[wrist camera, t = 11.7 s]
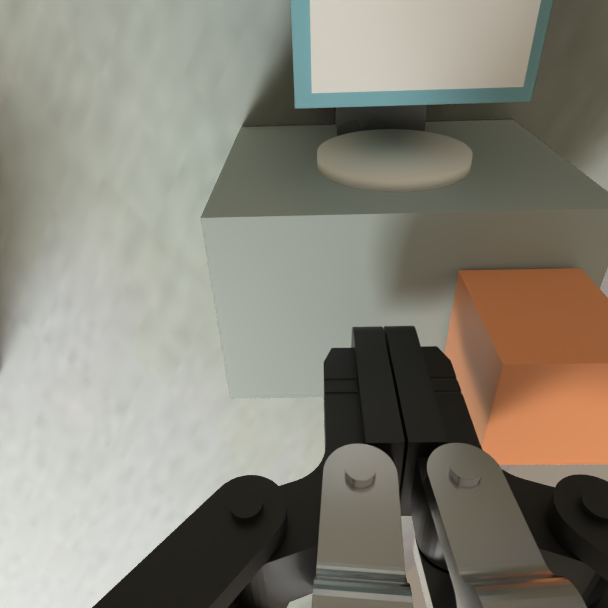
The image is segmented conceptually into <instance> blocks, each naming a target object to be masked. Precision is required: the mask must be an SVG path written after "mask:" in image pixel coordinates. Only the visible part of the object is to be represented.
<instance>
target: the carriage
mask: <svg viewBox="0 0 608 608" xmlns="http://www.w3.org/2000/svg"><path fill="white" fill-rule="evenodd" d="M552 3H553V0H291V23H292V48H293V73H294V98H295V109H297V108H331V107H365V106H399V105H434V104H468V103H502V102H531V99H532V94H533V90H534V85H535V81H536V76H537V71H538V67H539V62H540V58H541V53H542V49H543V44H544V39H545V35H546V30H547V26H548V21H549V16H550V12H551V7H552Z"/></svg>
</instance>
